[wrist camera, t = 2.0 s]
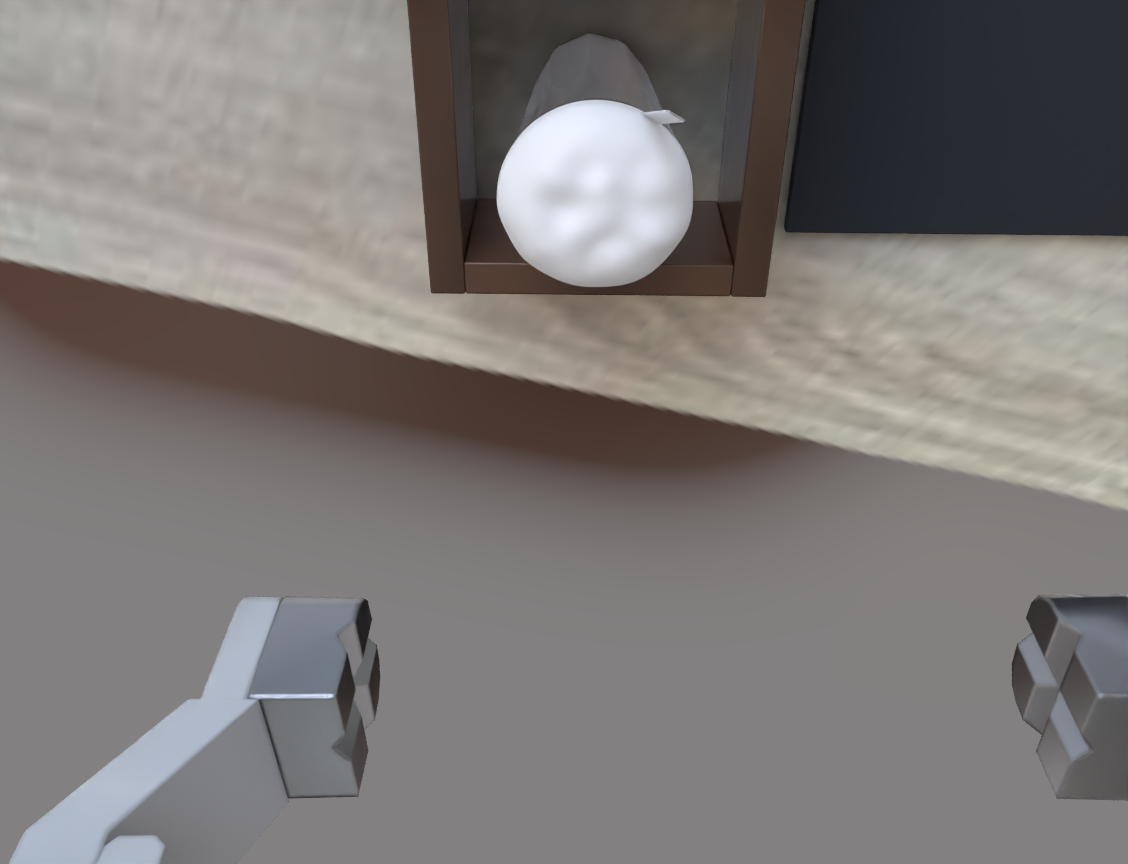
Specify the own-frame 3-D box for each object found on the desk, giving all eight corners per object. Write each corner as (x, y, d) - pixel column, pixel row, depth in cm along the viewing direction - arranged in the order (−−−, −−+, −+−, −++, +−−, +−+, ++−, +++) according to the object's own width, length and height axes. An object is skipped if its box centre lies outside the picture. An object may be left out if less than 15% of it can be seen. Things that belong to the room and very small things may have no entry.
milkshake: (716, 39, 30) (767, 172, 21) (615, 189, 32) (626, 358, 24) (582, -51, 28) (582, 55, 20) (488, 114, 31) (455, 265, 23)
